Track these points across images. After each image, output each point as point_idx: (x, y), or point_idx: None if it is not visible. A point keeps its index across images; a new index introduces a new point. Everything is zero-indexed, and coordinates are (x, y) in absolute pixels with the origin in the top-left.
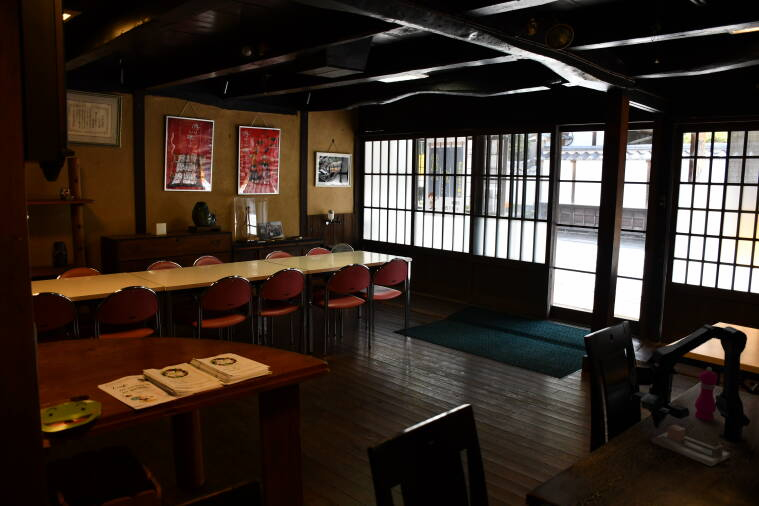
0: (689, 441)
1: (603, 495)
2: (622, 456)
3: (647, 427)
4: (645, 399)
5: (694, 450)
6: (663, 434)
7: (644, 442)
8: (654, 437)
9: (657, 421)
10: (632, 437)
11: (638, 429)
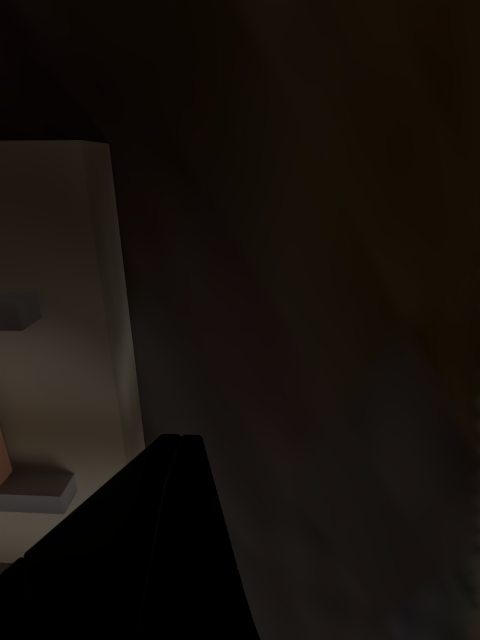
0: None
1: None
2: None
3: (398, 502)
4: None
5: None
6: (103, 414)
7: (154, 17)
8: (80, 201)
9: (98, 530)
10: (380, 12)
11: (448, 376)
